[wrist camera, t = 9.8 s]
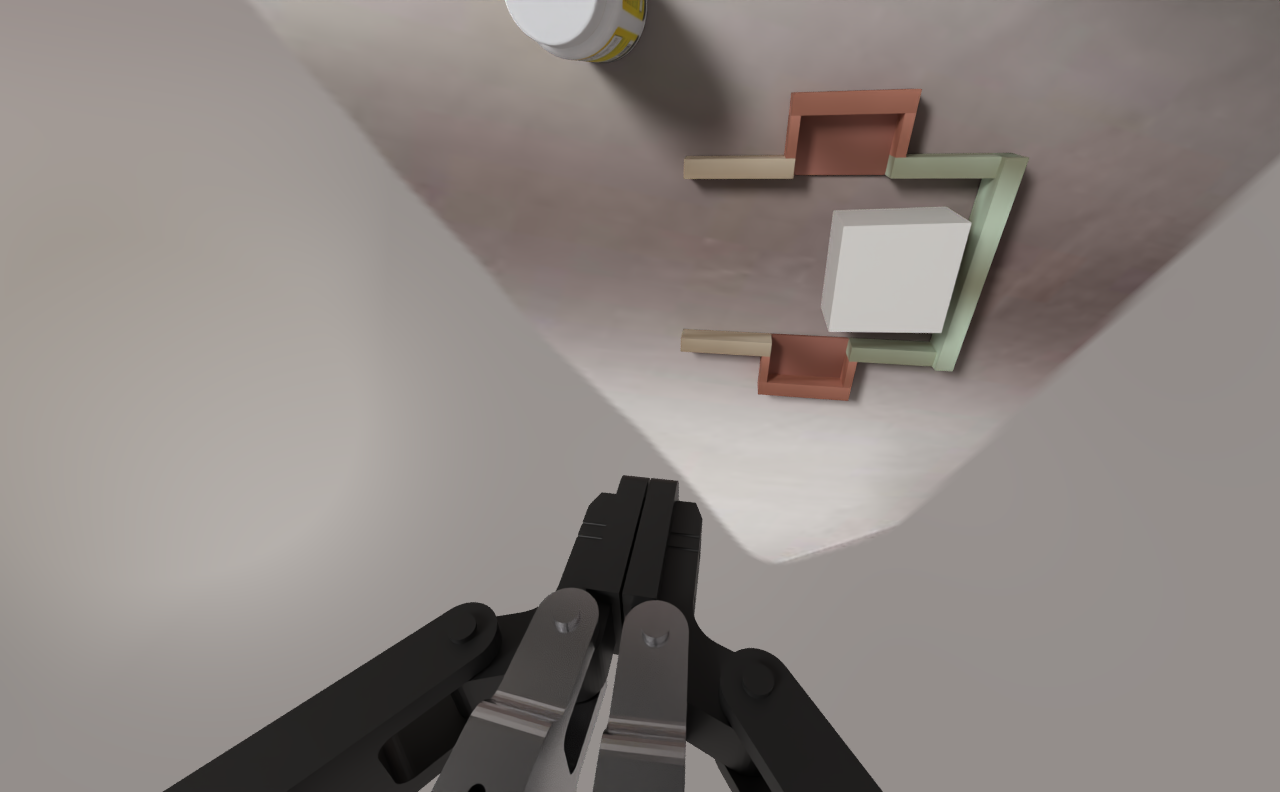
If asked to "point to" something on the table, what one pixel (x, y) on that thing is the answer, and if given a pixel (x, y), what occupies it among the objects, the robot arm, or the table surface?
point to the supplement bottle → (582, 26)
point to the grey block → (892, 269)
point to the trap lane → (863, 145)
